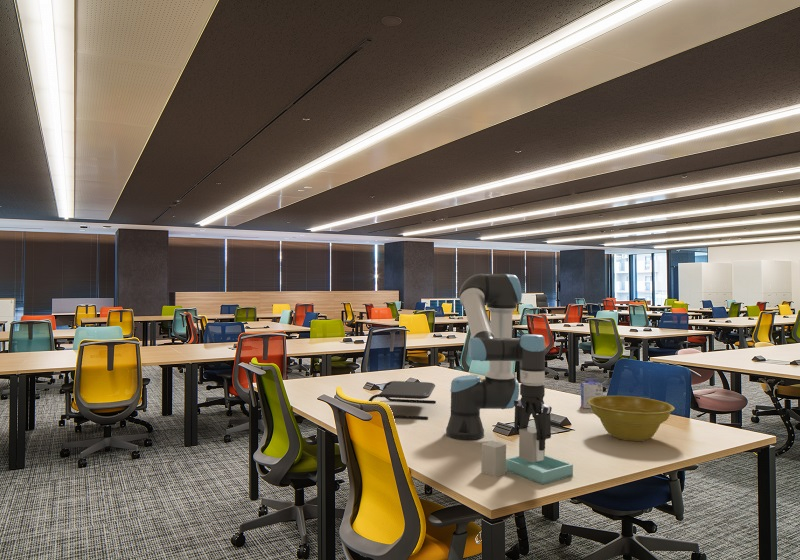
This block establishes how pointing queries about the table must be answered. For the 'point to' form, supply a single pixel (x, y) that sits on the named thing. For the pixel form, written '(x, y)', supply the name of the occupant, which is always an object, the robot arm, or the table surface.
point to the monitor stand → (407, 394)
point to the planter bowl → (630, 415)
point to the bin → (540, 469)
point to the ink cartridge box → (590, 391)
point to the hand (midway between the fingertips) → (531, 457)
